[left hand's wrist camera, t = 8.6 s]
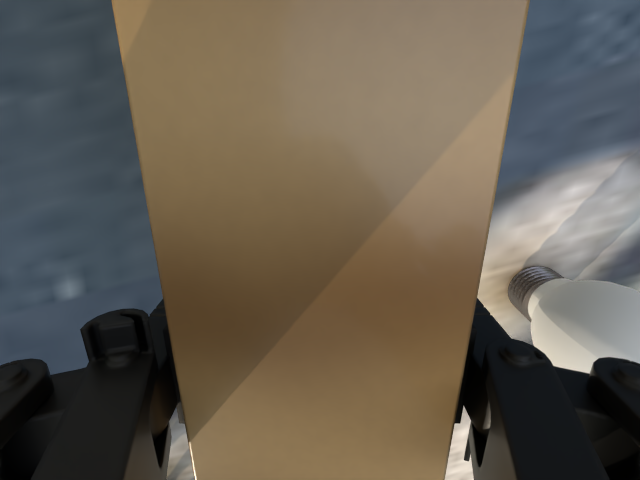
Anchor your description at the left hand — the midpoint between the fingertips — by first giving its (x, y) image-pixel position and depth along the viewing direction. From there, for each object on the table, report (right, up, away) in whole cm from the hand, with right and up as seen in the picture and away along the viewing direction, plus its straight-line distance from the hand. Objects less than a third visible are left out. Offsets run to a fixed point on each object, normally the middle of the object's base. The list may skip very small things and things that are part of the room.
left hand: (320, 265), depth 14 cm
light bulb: (+16, -2, +12) cm, 20 cm away
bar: (0, +8, -2) cm, 9 cm away
